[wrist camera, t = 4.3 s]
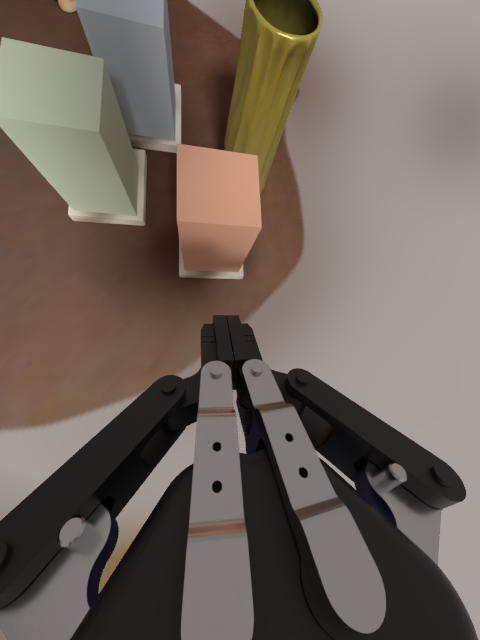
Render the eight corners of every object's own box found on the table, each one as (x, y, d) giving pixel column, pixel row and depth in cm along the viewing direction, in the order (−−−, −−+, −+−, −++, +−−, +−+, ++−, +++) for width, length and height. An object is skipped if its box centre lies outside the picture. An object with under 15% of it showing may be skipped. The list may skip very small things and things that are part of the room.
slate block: (120, 132, 24) (75, 6, 15) (122, 88, 25) (81, -56, 16) (175, 141, 25) (163, 28, 16) (175, 98, 26) (164, -31, 17)
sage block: (73, 210, 22) (-10, 115, 13) (77, 159, 23) (1, 37, 14) (136, 215, 23) (99, 132, 14) (138, 166, 24) (103, 58, 15)
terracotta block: (184, 270, 23) (176, 220, 14) (184, 219, 24) (176, 143, 15) (238, 272, 24) (261, 227, 16) (236, 223, 25) (257, 155, 16)
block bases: (69, 274, 22) (63, 270, 21) (84, 75, 25) (79, 64, 24) (241, 279, 25) (243, 276, 24) (234, 104, 29) (235, 96, 28)
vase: (239, 149, 28) (280, -47, 14) (273, 182, 28) (345, 20, 14) (208, 175, 27) (220, -15, 13) (244, 209, 27) (294, 59, 13)
